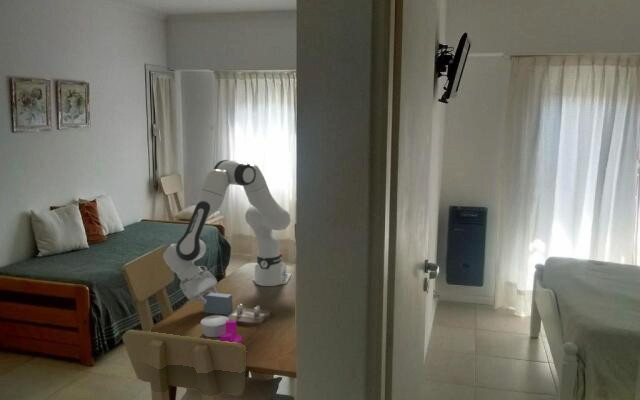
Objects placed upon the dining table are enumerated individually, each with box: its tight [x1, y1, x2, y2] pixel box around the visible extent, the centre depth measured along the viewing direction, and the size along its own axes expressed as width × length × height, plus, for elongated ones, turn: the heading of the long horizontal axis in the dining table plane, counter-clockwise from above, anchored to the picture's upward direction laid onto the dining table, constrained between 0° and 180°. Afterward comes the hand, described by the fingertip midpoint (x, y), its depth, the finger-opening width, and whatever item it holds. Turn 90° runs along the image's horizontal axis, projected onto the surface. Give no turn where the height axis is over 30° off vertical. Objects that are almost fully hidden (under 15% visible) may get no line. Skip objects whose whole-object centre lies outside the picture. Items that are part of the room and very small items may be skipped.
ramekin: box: [200, 315, 229, 338], centre depth 209 cm, size 11×11×5 cm
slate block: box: [202, 291, 234, 316], centre depth 231 cm, size 4×12×8 cm, turn 72°
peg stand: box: [226, 303, 273, 328], centre depth 223 cm, size 14×16×6 cm
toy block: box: [219, 320, 243, 344], centre depth 196 cm, size 15×6×8 cm, turn 1°
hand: (211, 299), depth 231 cm, fingers open, 8 cm apart
